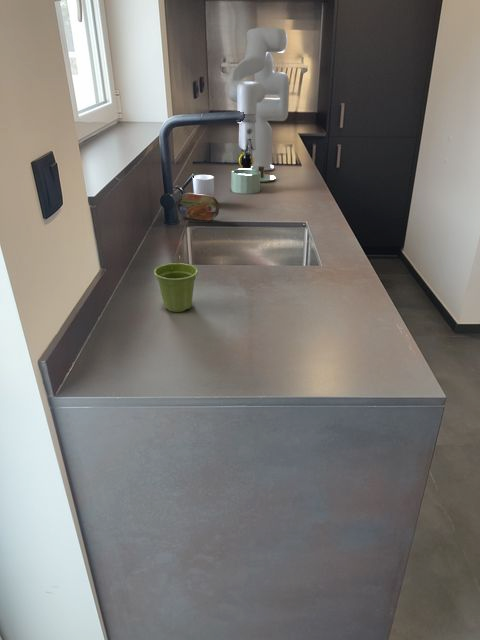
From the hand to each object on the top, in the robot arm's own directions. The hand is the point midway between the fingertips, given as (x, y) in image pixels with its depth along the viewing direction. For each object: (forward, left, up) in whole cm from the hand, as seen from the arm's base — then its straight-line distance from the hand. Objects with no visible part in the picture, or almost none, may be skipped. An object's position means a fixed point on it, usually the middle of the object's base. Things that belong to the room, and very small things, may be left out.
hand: (245, 167), depth 203 cm
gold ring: (0, 0, 0) cm, 0 cm away
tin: (+37, -26, -9) cm, 46 cm away
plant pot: (+104, -42, -9) cm, 113 cm away
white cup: (+19, -21, -9) cm, 30 cm away
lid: (-19, +12, -9) cm, 24 cm away
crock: (0, 0, -9) cm, 9 cm away
